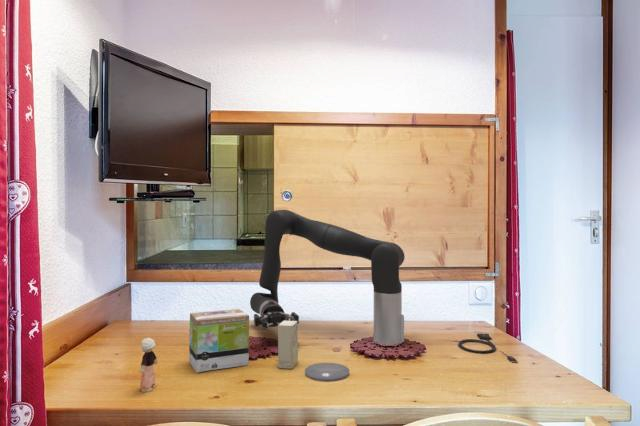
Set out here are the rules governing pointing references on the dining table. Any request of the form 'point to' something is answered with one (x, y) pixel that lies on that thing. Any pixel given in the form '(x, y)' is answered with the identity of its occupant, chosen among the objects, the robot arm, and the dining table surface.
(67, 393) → the dining table surface
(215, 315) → the tea box
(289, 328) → the skincare box
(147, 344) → the grandmother figurine
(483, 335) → the cable
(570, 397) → the dining table surface
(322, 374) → the coaster
